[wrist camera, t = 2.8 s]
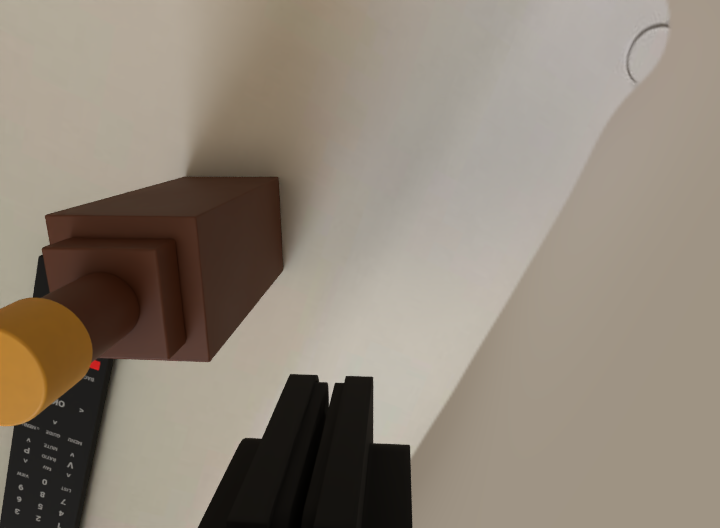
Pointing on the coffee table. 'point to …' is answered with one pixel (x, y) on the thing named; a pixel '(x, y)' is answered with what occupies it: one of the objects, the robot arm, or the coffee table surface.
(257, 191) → the bottle
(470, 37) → the coffee table surface
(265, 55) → the coffee table surface
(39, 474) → the remote control
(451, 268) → the coffee table surface
